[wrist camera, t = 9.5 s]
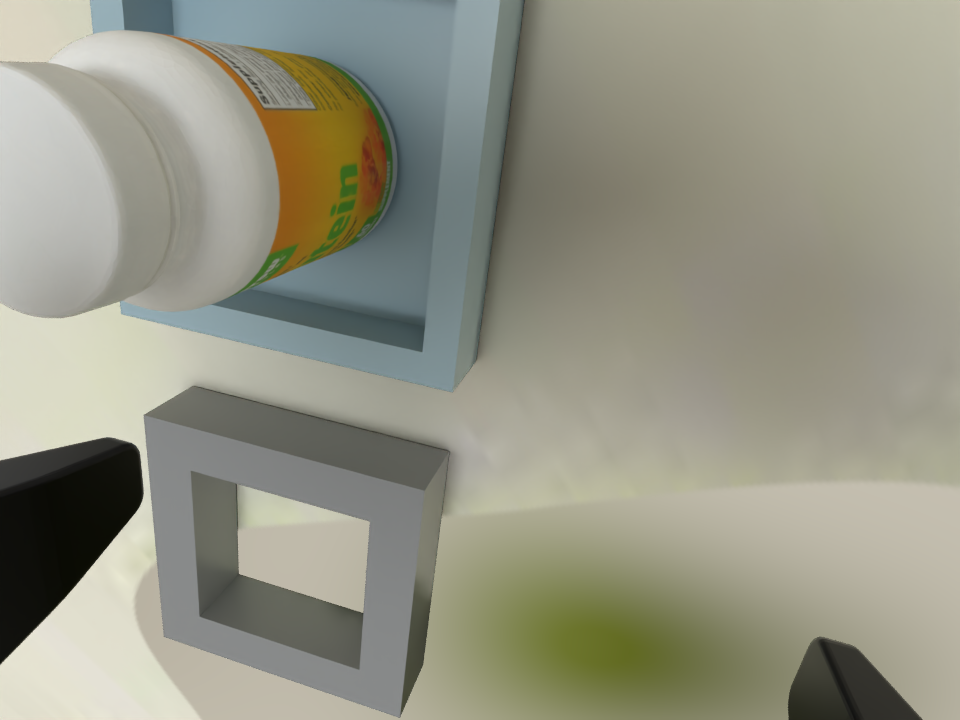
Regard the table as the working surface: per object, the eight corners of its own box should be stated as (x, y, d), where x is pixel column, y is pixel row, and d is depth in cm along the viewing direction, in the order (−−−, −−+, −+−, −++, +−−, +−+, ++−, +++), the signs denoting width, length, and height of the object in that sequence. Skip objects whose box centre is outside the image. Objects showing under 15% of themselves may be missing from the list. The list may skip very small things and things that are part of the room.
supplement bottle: (348, 284, 20) (99, 420, 11) (209, 180, 20) (-147, 235, 11) (437, 132, 18) (209, 156, 9) (279, 14, 18) (-101, -78, 9)
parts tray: (529, -40, 16) (507, -63, 14) (476, 360, 21) (452, 392, 18) (151, -77, 18) (80, -102, 16) (175, 293, 23) (120, 314, 20)
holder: (449, 451, 22) (424, 490, 20) (423, 664, 26) (399, 717, 24) (192, 385, 24) (143, 415, 22) (204, 593, 28) (163, 636, 26)
